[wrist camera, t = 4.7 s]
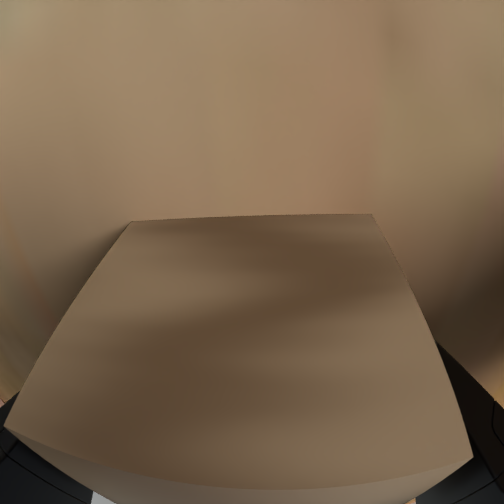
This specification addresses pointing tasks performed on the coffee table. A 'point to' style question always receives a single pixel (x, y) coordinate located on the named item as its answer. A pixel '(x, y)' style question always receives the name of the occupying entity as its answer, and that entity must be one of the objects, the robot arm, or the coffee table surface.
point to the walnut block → (245, 369)
